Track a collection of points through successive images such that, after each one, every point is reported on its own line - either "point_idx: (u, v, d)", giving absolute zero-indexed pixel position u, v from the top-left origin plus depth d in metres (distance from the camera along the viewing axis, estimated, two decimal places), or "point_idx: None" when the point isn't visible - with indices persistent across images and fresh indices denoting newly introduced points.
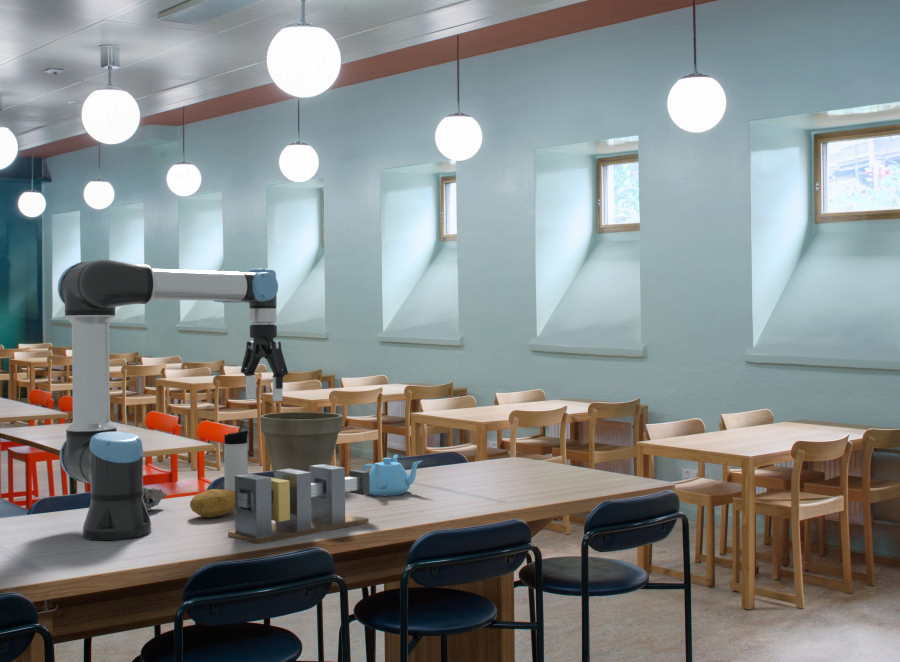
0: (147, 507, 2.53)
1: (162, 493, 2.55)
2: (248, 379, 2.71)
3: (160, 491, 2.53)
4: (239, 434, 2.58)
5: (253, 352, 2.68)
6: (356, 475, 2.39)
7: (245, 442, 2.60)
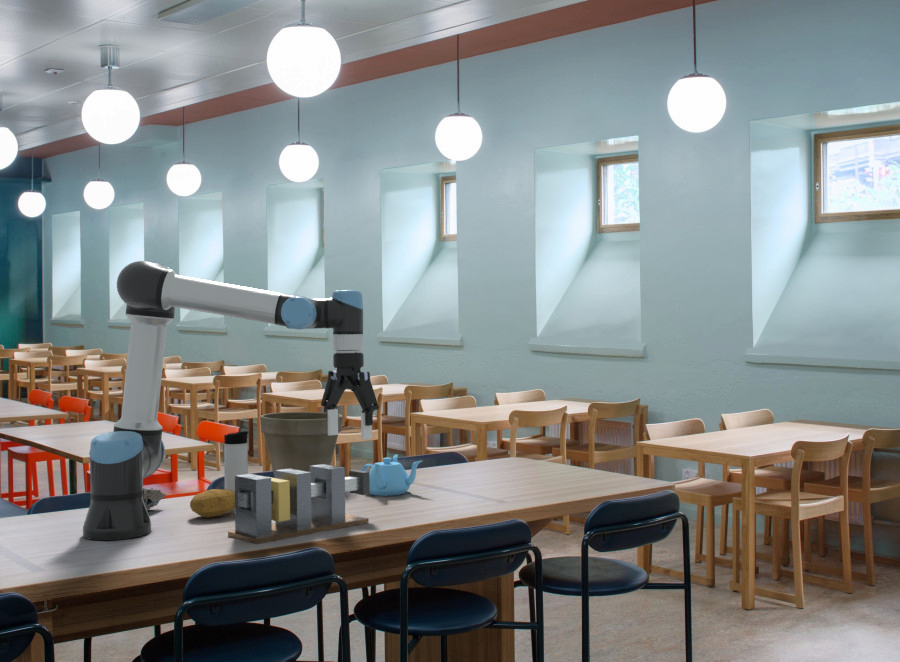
0: (146, 507, 2.52)
1: (161, 493, 2.54)
2: (330, 413, 2.42)
3: (159, 491, 2.53)
4: (239, 434, 2.58)
5: (337, 383, 2.38)
6: (356, 475, 2.39)
7: (245, 442, 2.60)
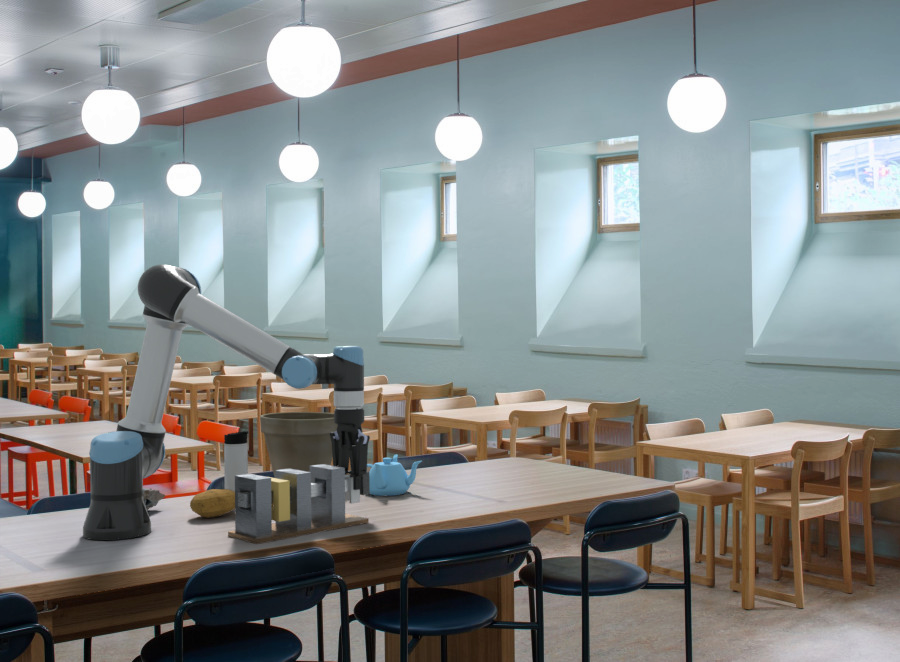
0: None
1: (160, 494, 2.53)
2: None
3: (158, 492, 2.52)
4: (239, 434, 2.58)
5: (340, 440, 2.37)
6: None
7: (245, 442, 2.60)
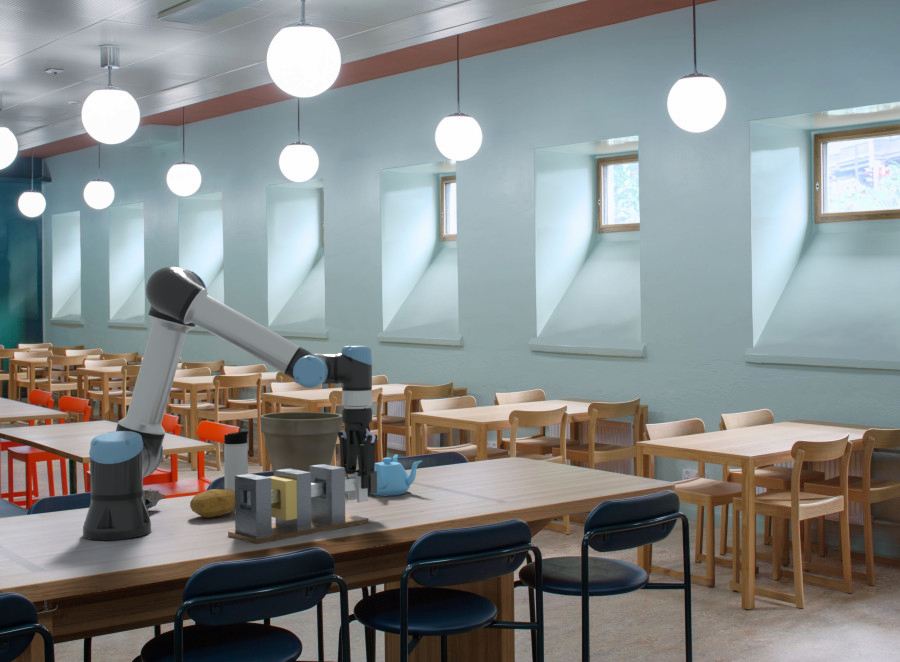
0: None
1: (159, 494, 2.53)
2: None
3: (157, 492, 2.52)
4: (239, 434, 2.58)
5: (348, 439, 2.39)
6: None
7: (245, 442, 2.60)
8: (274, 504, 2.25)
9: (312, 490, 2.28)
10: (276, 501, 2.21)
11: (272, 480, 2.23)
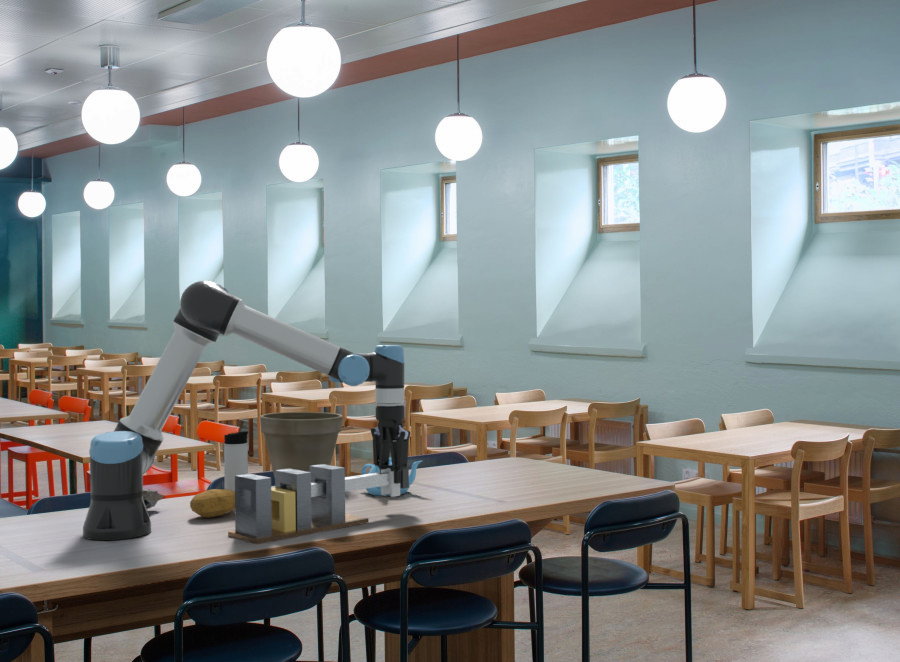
0: None
1: (158, 495, 2.52)
2: None
3: (156, 492, 2.51)
4: (239, 434, 2.58)
5: (381, 436, 2.47)
6: None
7: (245, 442, 2.60)
8: (273, 516, 2.25)
9: (348, 485, 2.35)
10: (314, 495, 2.28)
11: (271, 492, 2.23)
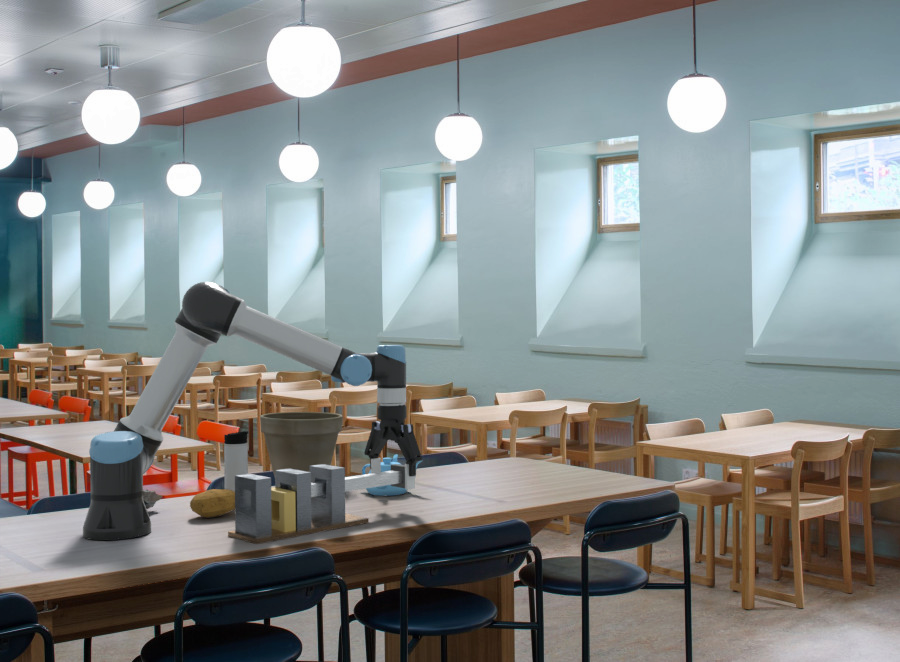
0: None
1: (156, 495, 2.51)
2: (373, 462, 2.51)
3: (154, 493, 2.50)
4: (239, 434, 2.58)
5: (381, 434, 2.48)
6: (397, 469, 2.49)
7: (245, 442, 2.60)
8: (273, 516, 2.25)
9: (350, 485, 2.36)
10: (316, 495, 2.29)
11: (271, 492, 2.23)
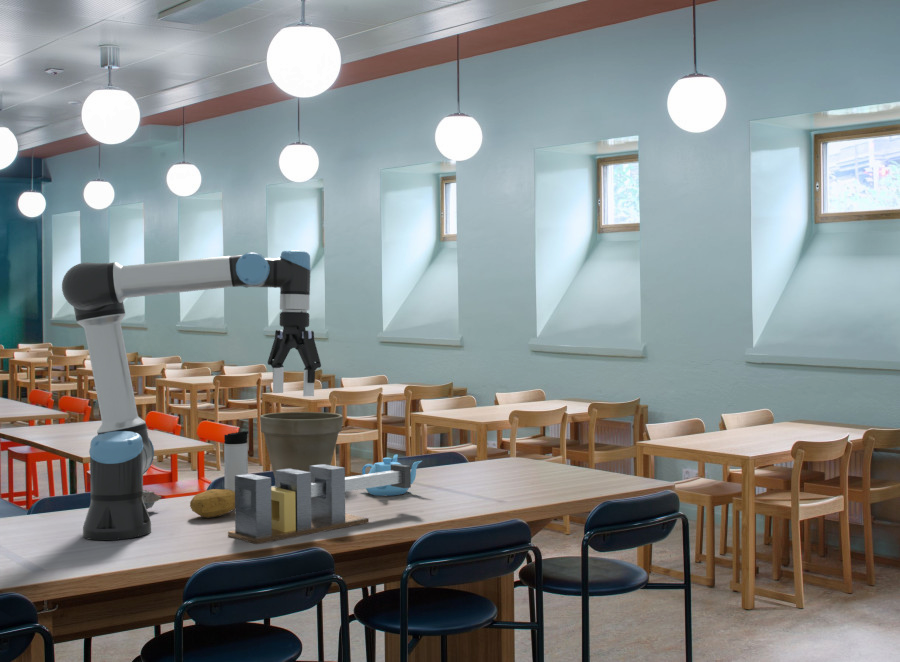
0: None
1: (155, 496, 2.51)
2: (276, 371, 2.47)
3: (152, 494, 2.49)
4: (239, 434, 2.58)
5: (283, 342, 2.44)
6: (397, 469, 2.49)
7: (245, 442, 2.60)
8: (273, 516, 2.25)
9: (350, 485, 2.36)
10: (316, 495, 2.29)
11: (271, 492, 2.23)
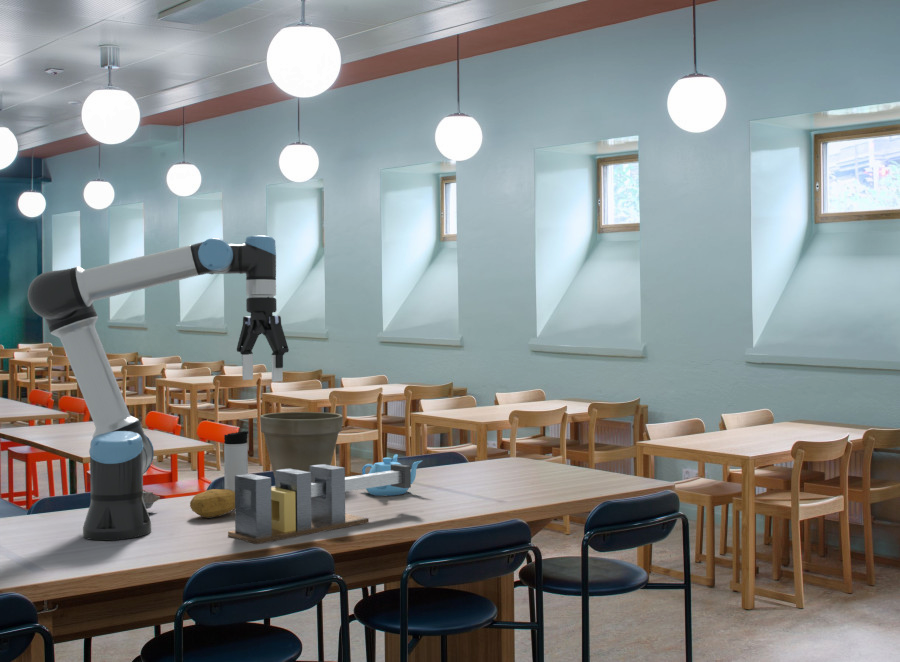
0: None
1: (154, 496, 2.50)
2: (245, 358, 2.46)
3: (151, 494, 2.49)
4: (239, 434, 2.58)
5: (251, 328, 2.43)
6: (397, 469, 2.49)
7: (245, 442, 2.60)
8: (273, 516, 2.25)
9: (350, 485, 2.36)
10: (316, 495, 2.29)
11: (271, 492, 2.23)
